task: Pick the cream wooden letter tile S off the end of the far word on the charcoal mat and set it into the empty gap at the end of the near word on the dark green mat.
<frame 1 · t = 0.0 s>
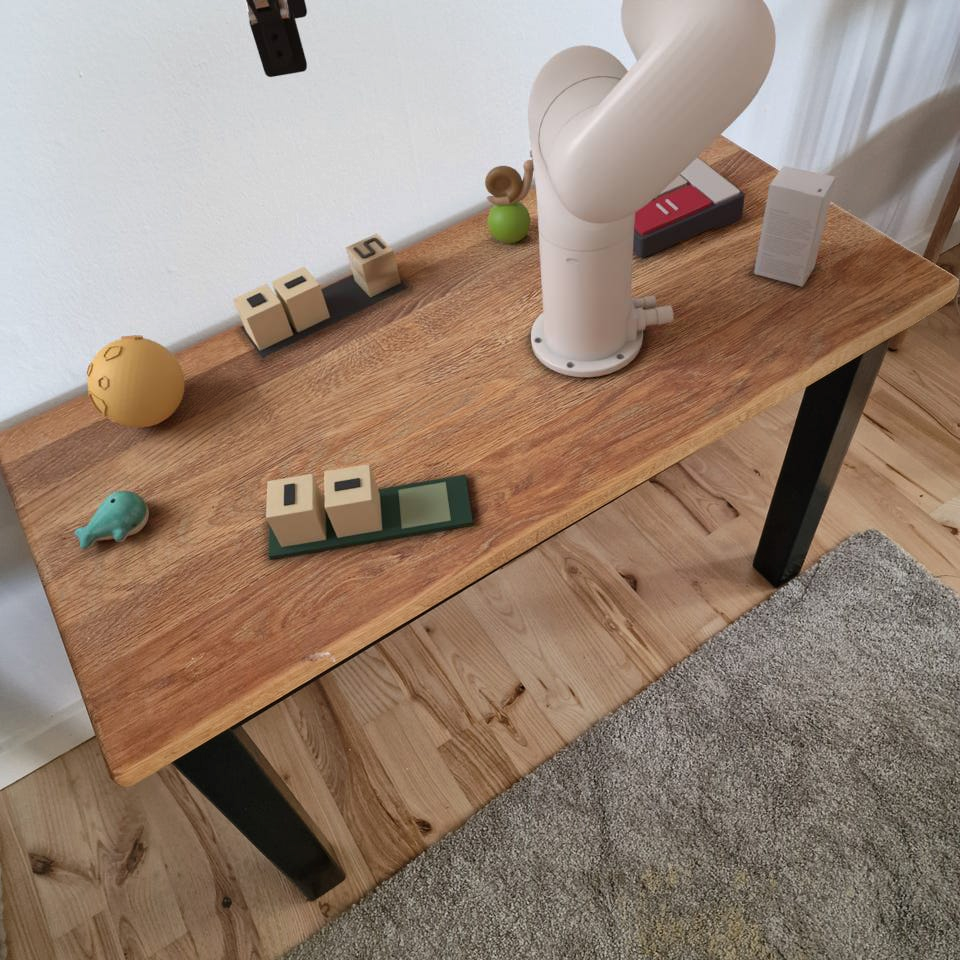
hand: (288, 44, 66), 37 cm above the table, tool pointing down, fingers open, 9 cm apart
snail figurine: (514, 240, 107), on the table
calculator: (668, 219, 107), on the table
cosmetic box: (783, 272, 98), on the table
whale figurine: (118, 530, 84), on the table
far word mat: (325, 310, 102), on the table
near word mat: (370, 518, 82), on the table
stress ball: (155, 414, 94), on the table
tile S: (377, 281, 104), point 1 cm above the table, touching far word mat
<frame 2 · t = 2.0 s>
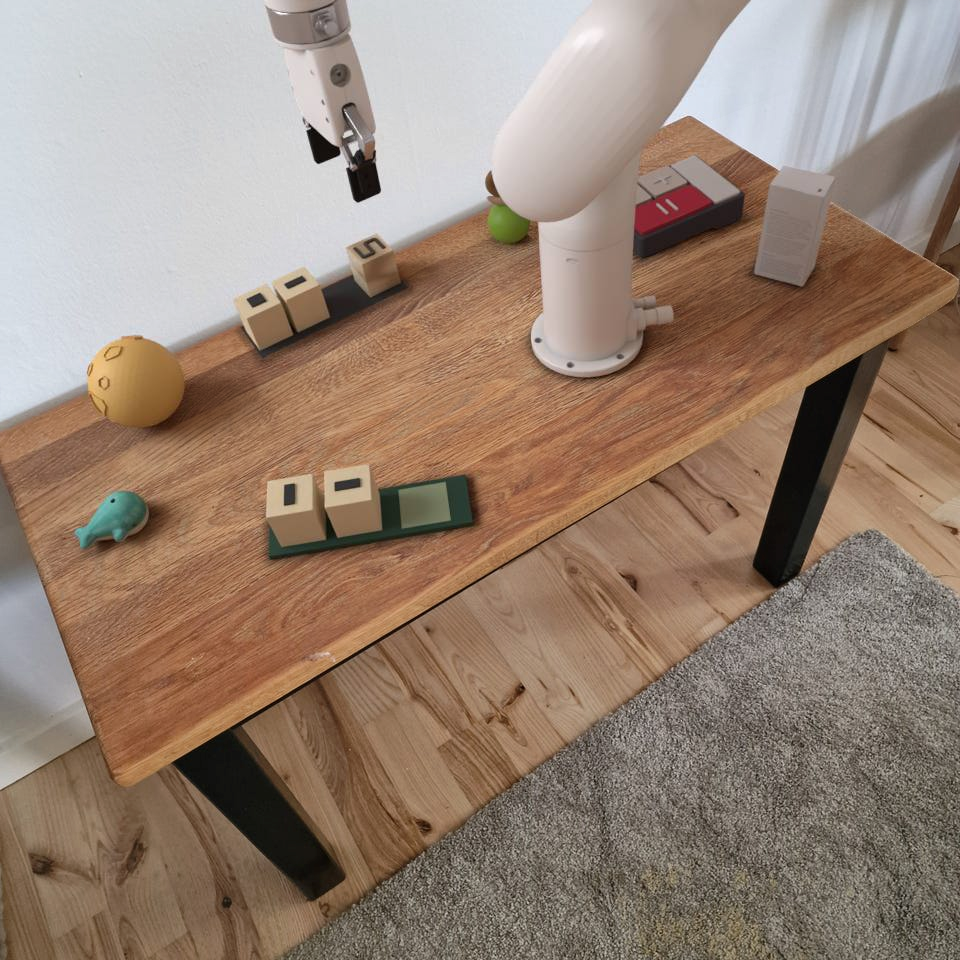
hand: (347, 177, 92), 15 cm above the table, tool pointing down, fingers open, 9 cm apart
nothing on the table moved.
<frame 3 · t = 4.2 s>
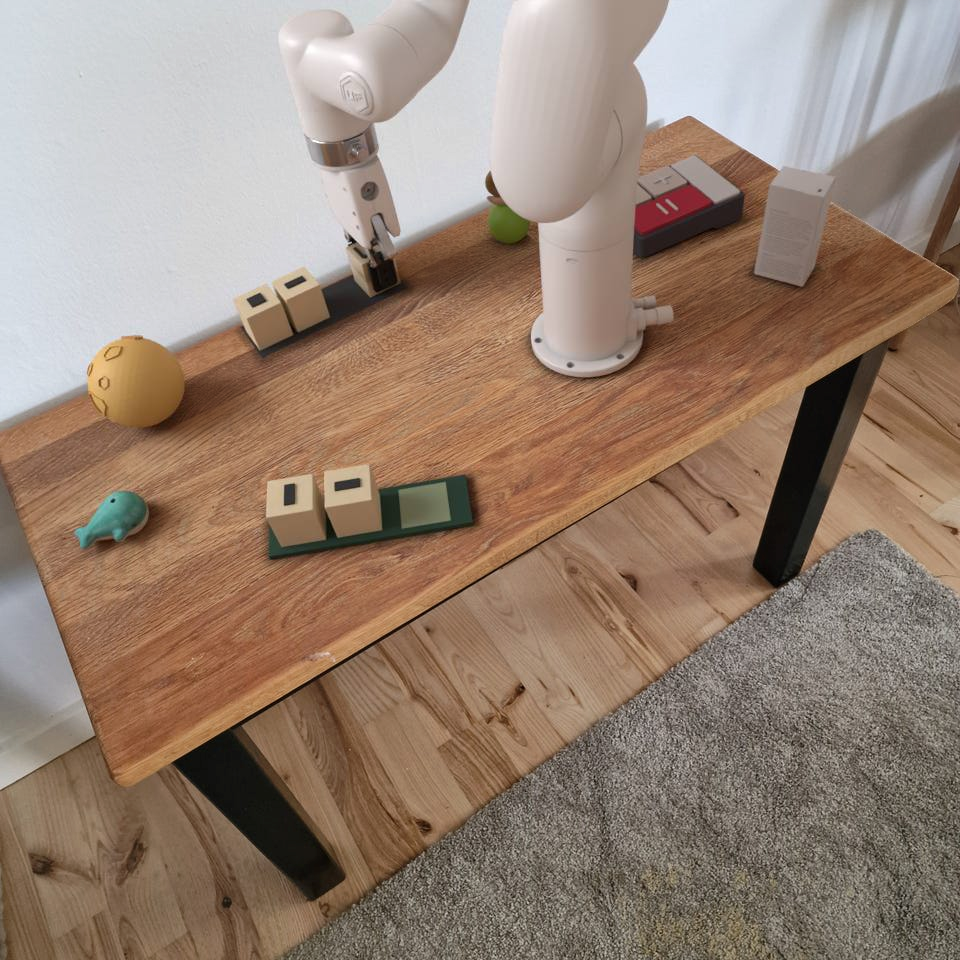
hand: (376, 275, 103), 2 cm above the table, tool pointing down, fingers closed on tile S, 4 cm apart
tile S: (377, 281, 104), point 1 cm above the table, touching far word mat, gripper
everything else where it was.
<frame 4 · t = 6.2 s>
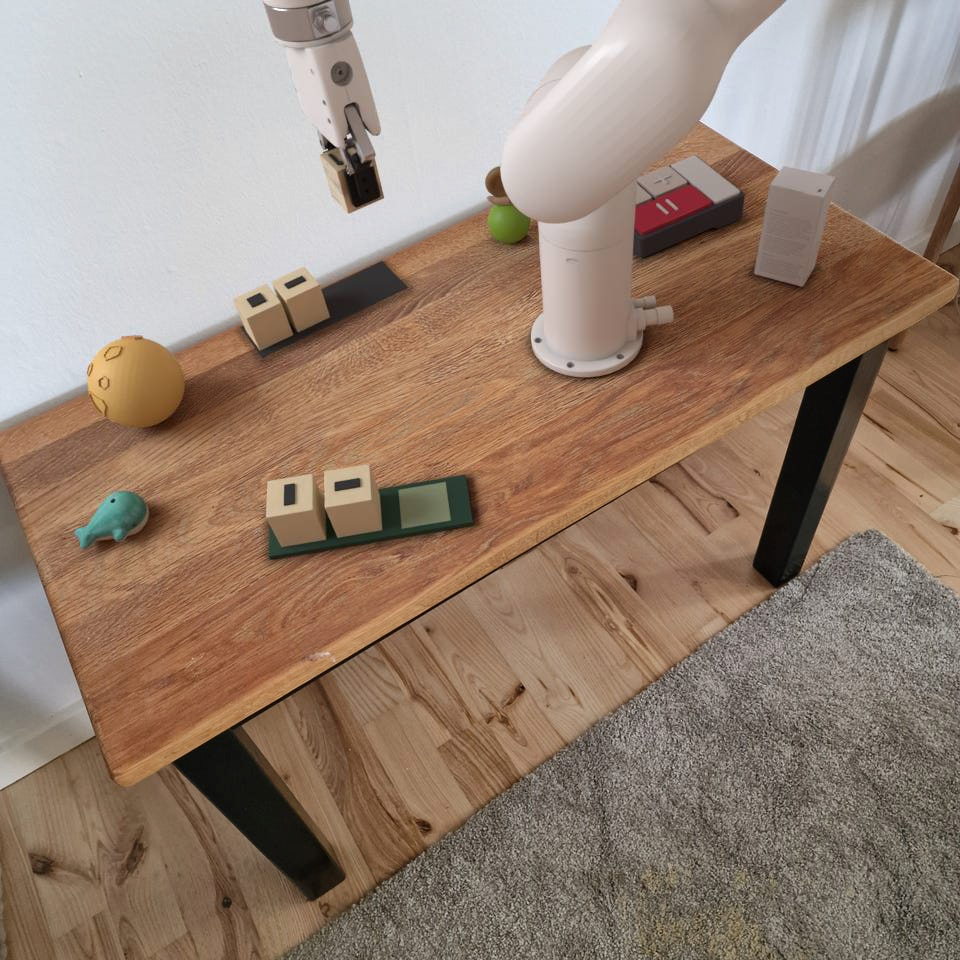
hand: (356, 189, 89), 16 cm above the table, tool pointing down, fingers closed on tile S, 4 cm apart
tile S: (357, 197, 90), point 15 cm above the table, touching gripper
everything else where it was.
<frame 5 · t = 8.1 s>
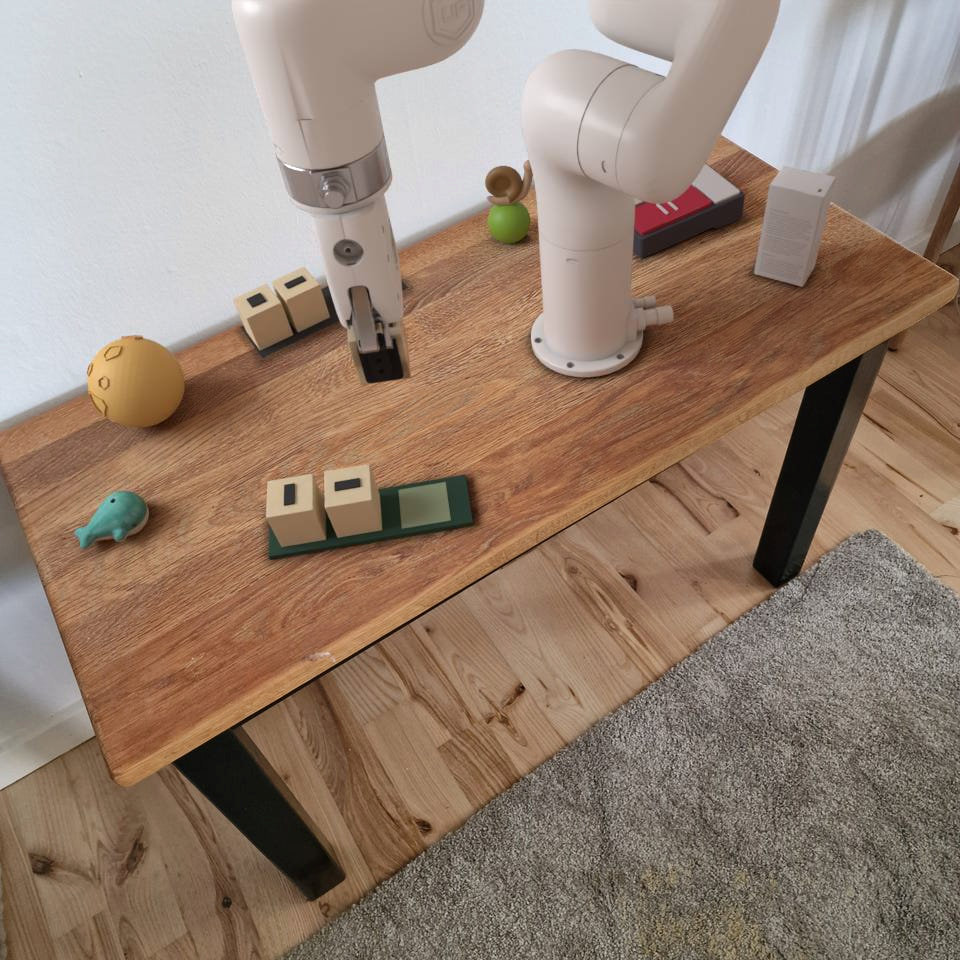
hand: (383, 356, 72), 17 cm above the table, tool pointing down, fingers closed on tile S, 4 cm apart
tile S: (384, 364, 72), point 16 cm above the table, touching gripper
everything else where it was.
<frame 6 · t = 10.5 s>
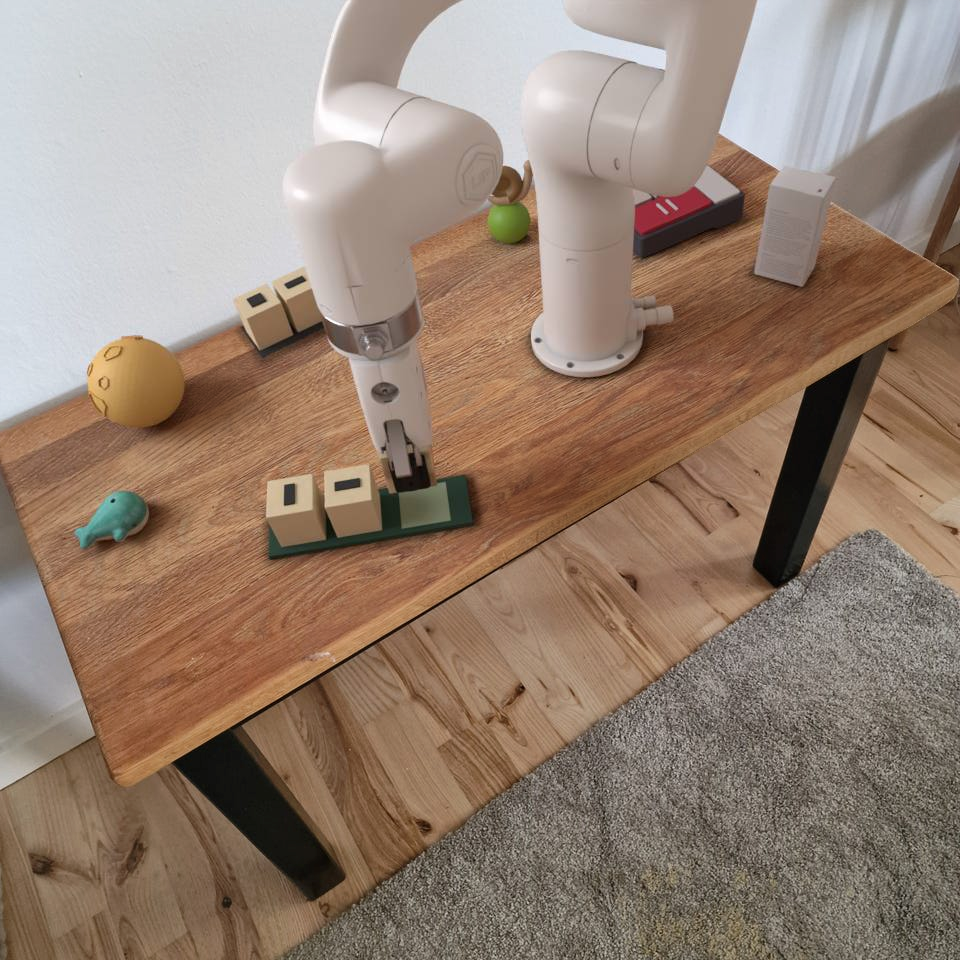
hand: (411, 465, 76), 7 cm above the table, tool pointing down, fingers closed on tile S, 4 cm apart
tile S: (411, 471, 77), point 6 cm above the table, touching gripper
everything else where it was.
when the fingers open (2 cm above the table, at t = 12.2 s): tile S stays where it is, resting on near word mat.
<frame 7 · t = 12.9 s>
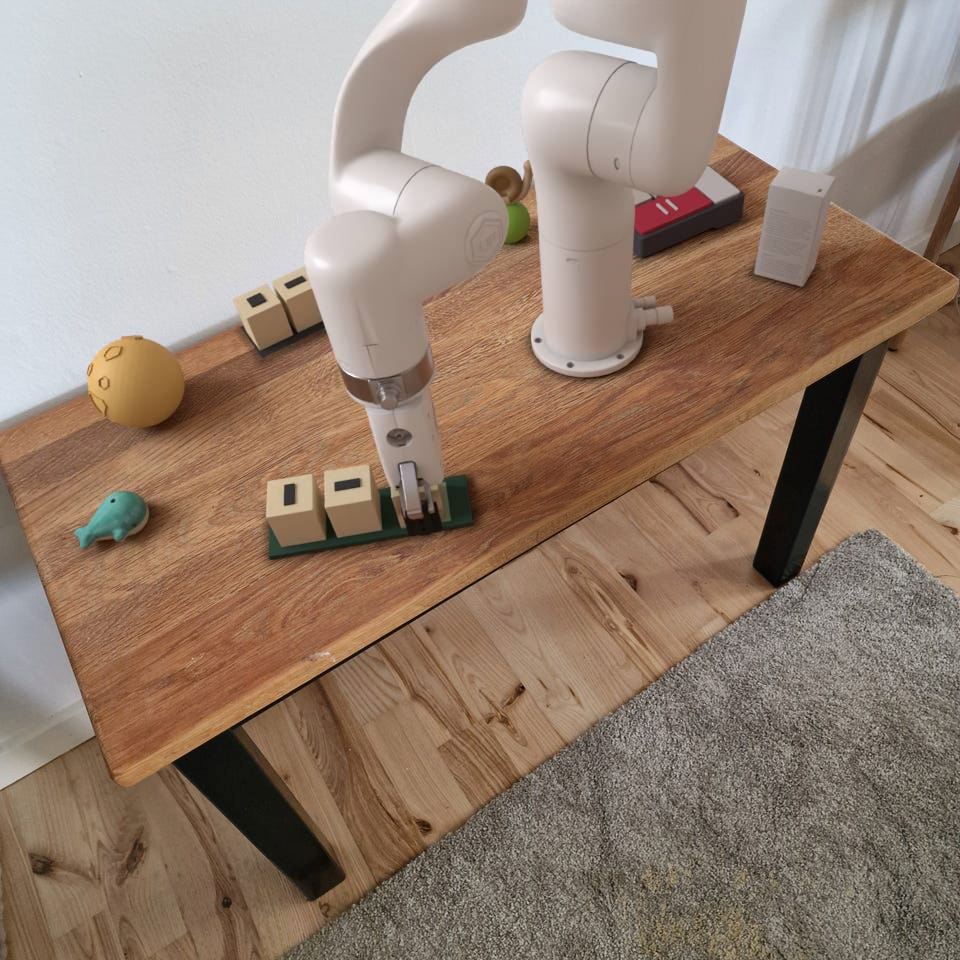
hand: (421, 490, 80), 3 cm above the table, tool pointing down, fingers open, 9 cm apart
tile S: (421, 506, 81), point 1 cm above the table, touching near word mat
everything else where it was.
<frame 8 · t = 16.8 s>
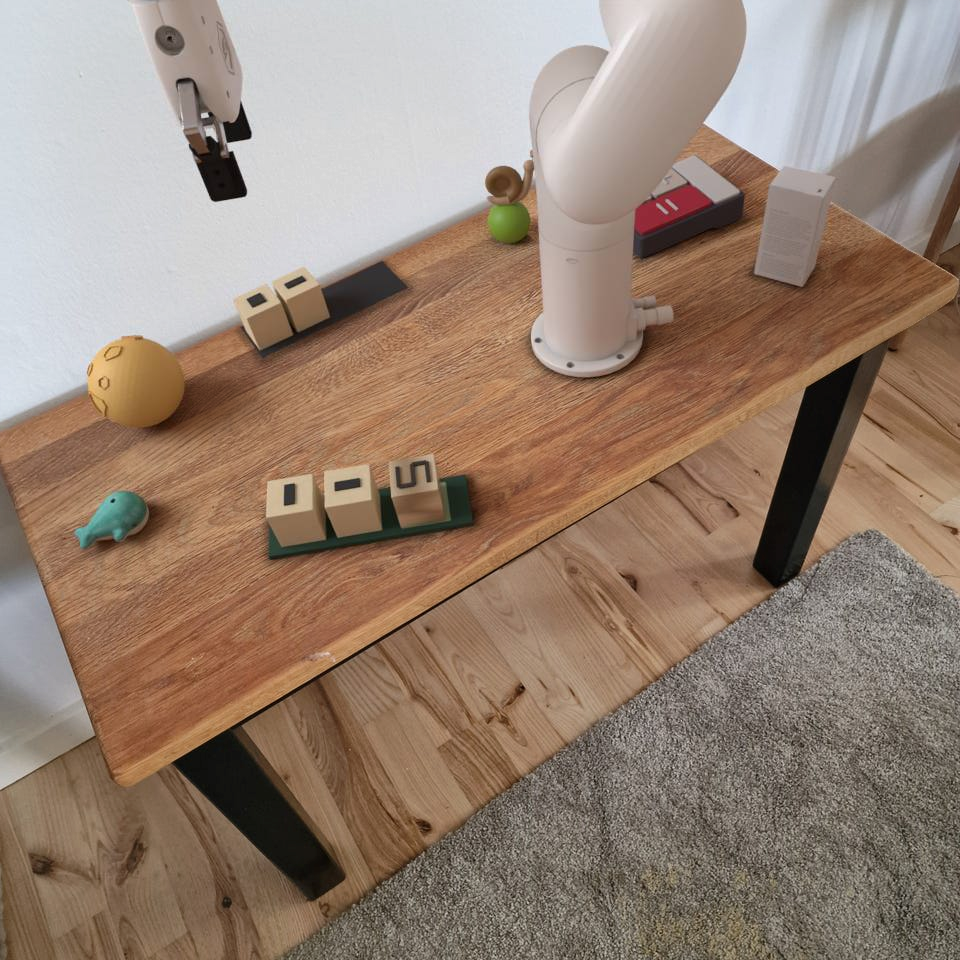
hand: (233, 167, 75), 26 cm above the table, tool pointing down, fingers open, 9 cm apart
nothing on the table moved.
at the end: tile S 0.4 cm from the target spot on the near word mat, point 0.7 cm above the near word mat's base; tile S tilted 0° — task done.
